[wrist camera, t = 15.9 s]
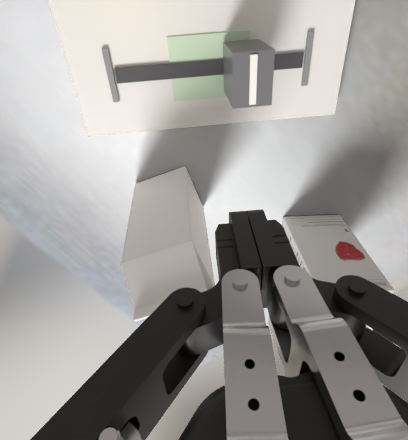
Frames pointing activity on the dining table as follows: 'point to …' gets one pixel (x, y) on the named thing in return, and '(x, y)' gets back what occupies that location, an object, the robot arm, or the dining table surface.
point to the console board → (196, 59)
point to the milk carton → (165, 242)
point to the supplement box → (330, 250)
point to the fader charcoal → (248, 73)
